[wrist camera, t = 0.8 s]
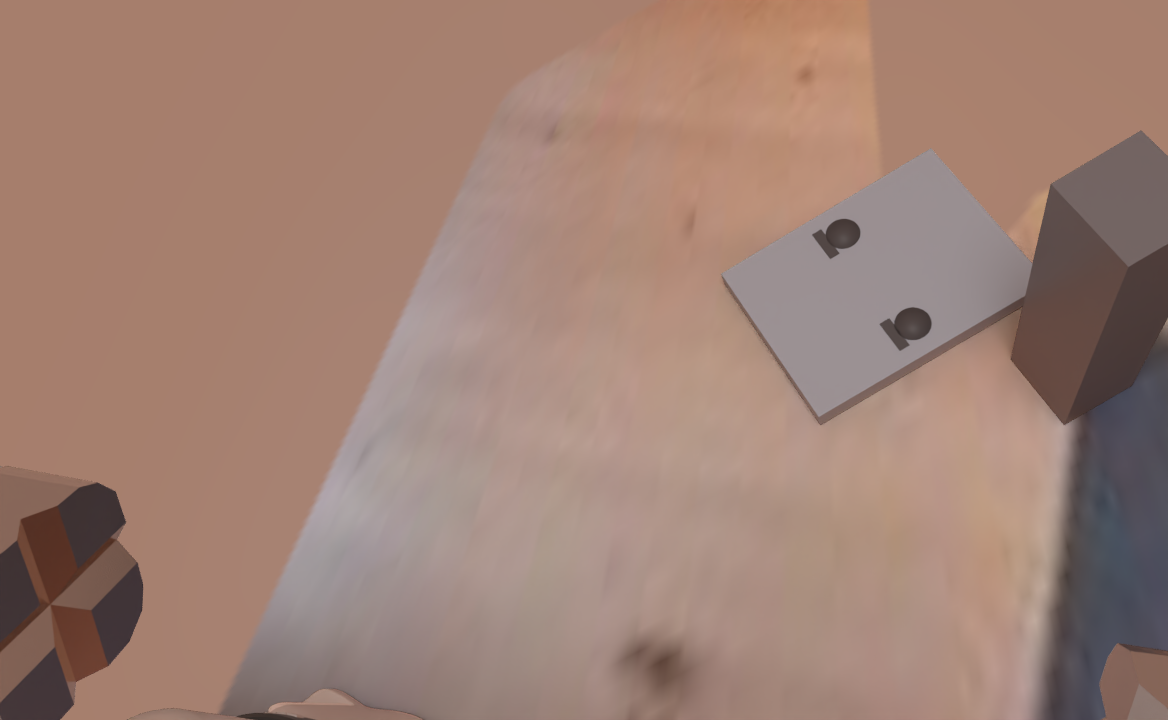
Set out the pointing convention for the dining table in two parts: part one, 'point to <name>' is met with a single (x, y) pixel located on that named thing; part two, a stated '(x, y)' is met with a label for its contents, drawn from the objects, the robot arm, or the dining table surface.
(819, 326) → the mounting plate
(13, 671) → the robot arm
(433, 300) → the dining table surface
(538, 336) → the dining table surface
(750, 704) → the dining table surface
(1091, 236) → the tall taupe pillar
